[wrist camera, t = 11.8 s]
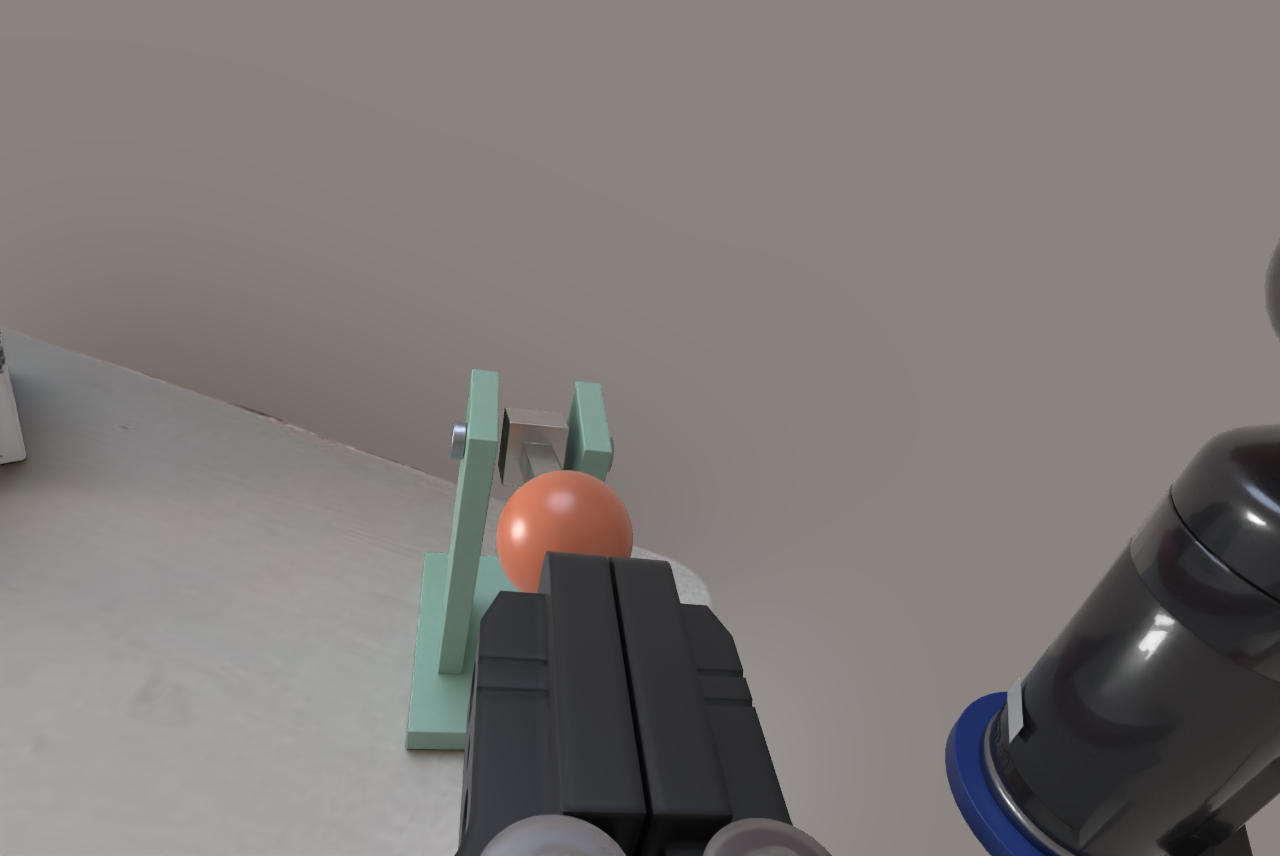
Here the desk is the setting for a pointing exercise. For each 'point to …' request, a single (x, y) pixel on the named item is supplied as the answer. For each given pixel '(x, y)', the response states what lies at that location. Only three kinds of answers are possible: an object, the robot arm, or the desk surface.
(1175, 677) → the robot arm
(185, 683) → the desk surface
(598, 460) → the switch bracket
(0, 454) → the ink box
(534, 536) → the switch lever
